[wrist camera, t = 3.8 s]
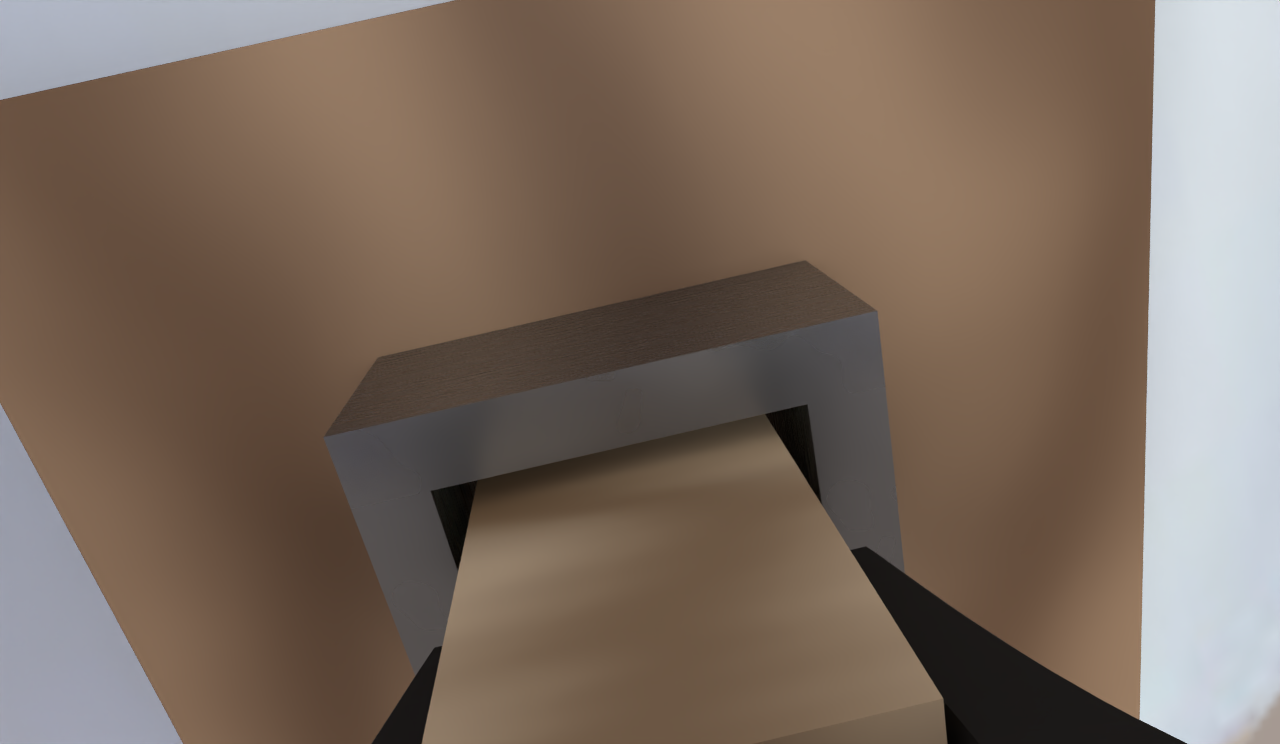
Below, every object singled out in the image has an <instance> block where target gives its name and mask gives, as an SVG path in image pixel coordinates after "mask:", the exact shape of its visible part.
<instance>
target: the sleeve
mask: <svg viewBox="0 0 1280 744" xmlns="http://www.w3.org/2000/svg"><path fill="white" fill-rule="evenodd" d="M762 414H766V417H767V418H768V420H769V421H770V423H771V425H772V426H773V428H774V429H775V431H776V433H777V434H778V436H779V437H780V439H781V441H782V442H783V444H784V445H785V447H786V449H787V450H788V452H789V453H790V455H791V457H792V458H793V460H794V461H795V463H796V465H797V466H798V468H799V469H800V471H801V473H802V474H803V476H804V477H805V479H806V480H807V482H808V484H809V485H810V487H811V488H812V490H813V492H814V493H815V495H816V496H817V498H818V500H819V501H820V503H821V504H822V506H823V508H824V509H825V511H826V512H827V514H828V516H829V517H830V519H831V520H832V522H833V524H834V525H835V527H836V528H837V530H838V532H839V533H840V535H841V536H842V538H843V539H844V541H845V543H846V544H847V546H848V547H849V549H850V550H853V549H857V548H861V547H865V546H866V547H868V548H870V549H871V550H873V551H874V552H876V553H877V554H878V555H880V556H881V557H883V558H884V559H886V560H887V561H888V562H890V563H891V564H892V565H894V566H895V567H897V568H898V569H899V570H901V571H902V572H904V573H905V569H904V560H903V550H902V541H901V531H900V521H899V512H898V502H897V493H896V483H895V474H894V464H893V454H892V445H891V435H890V426H889V416H888V407H887V397H886V388H885V378H884V368H883V359H882V349H881V340H880V330H879V321H878V311H877V310H876V309H874V308H873V307H871V306H870V305H869V304H867V303H866V302H864V301H863V300H861V299H860V298H859V297H857V296H856V295H854V294H853V293H851V292H850V291H849V290H847V289H846V288H844V287H843V286H841V285H840V284H839V283H837V282H836V281H834V280H833V279H832V278H830V277H829V276H827V275H826V274H824V273H823V272H822V271H820V270H819V269H817V268H816V267H814V266H813V265H812V264H810V263H809V262H807V261H806V260H804V261H799V262H795V263H791V264H786V265H782V266H777V267H773V268H769V269H764V270H760V271H755V272H751V273H747V274H742V275H738V276H733V277H729V278H725V279H720V280H716V281H711V282H707V283H702V284H698V285H694V286H689V287H685V288H680V289H676V290H672V291H667V292H663V293H658V294H654V295H650V296H645V297H641V298H636V299H632V300H628V301H623V302H619V303H614V304H610V305H606V306H601V307H597V308H592V309H588V310H583V311H579V312H575V313H570V314H566V315H561V316H557V317H553V318H548V319H544V320H539V321H535V322H531V323H526V324H522V325H517V326H513V327H509V328H504V329H500V330H495V331H491V332H487V333H482V334H478V335H473V336H469V337H464V338H460V339H456V340H451V341H447V342H442V343H438V344H434V345H429V346H425V347H420V348H416V349H412V350H407V351H403V352H398V353H394V354H390V355H385V356H381V357H378V358H377V359H376V361H375V362H374V364H373V365H372V367H371V368H370V369H369V371H368V372H367V374H366V375H365V377H364V378H363V380H362V381H361V383H360V384H359V386H358V387H357V389H356V390H355V391H354V393H353V394H352V396H351V397H350V399H349V400H348V402H347V403H346V405H345V406H344V408H343V409H342V411H341V412H340V413H339V415H338V416H337V418H336V419H335V421H334V422H333V424H332V425H331V427H330V428H329V430H328V431H327V433H326V434H325V436H324V437H323V438H324V441H325V443H326V446H327V448H328V451H329V454H330V456H331V459H332V461H333V464H334V467H335V469H336V472H337V474H338V477H339V479H340V482H341V485H342V487H343V490H344V492H345V495H346V498H347V500H348V503H349V505H350V508H351V511H352V513H353V516H354V518H355V521H356V524H357V526H358V529H359V531H360V534H361V536H362V539H363V542H364V544H365V547H366V549H367V552H368V555H369V557H370V560H371V562H372V565H373V568H374V570H375V573H376V575H377V578H378V581H379V583H380V586H381V588H382V591H383V593H384V596H385V599H386V601H387V604H388V606H389V609H390V612H391V614H392V617H393V619H394V622H395V625H396V627H397V630H398V632H399V635H400V638H401V640H402V643H403V645H404V648H405V650H406V653H407V656H408V658H409V661H410V663H411V666H412V669H413V671H414V674H415V676H416V674H417V673H418V671H419V670H420V668H421V667H422V665H423V664H424V662H425V661H426V659H427V658H428V656H429V655H430V653H431V652H432V650H433V649H434V648H435V647H439V646H443V641H444V636H445V632H446V627H447V622H448V617H449V613H450V608H451V603H452V599H453V594H454V589H455V585H456V580H457V575H458V570H459V566H460V561H461V556H462V552H463V547H464V542H465V537H466V533H467V528H468V523H469V519H470V514H471V509H472V504H473V500H474V495H475V490H476V486H477V481H478V480H480V479H484V478H489V477H493V476H498V475H502V474H506V473H511V472H515V471H519V470H524V469H528V468H532V467H537V466H541V465H545V464H550V463H554V462H558V461H563V460H567V459H571V458H576V457H580V456H584V455H589V454H593V453H597V452H602V451H606V450H610V449H615V448H619V447H623V446H628V445H632V444H636V443H641V442H645V441H650V440H654V439H658V438H663V437H667V436H671V435H676V434H680V433H684V432H689V431H693V430H697V429H702V428H706V427H710V426H715V425H719V424H723V423H728V422H732V421H736V420H741V419H745V418H749V417H754V416H758V415H762Z"/></svg>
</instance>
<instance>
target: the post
mask: <svg viewBox="0 0 1280 744" xmlns="http://www.w3.org/2000/svg"><path fill="white" fill-rule="evenodd" d="M422 744H947V735H946V724H945V713H944V701H943V697H942V696H941V694H940V693H939V691H938V689H937V688H936V686H935V685H934V683H933V681H932V680H931V678H930V677H929V675H928V673H927V672H926V670H925V669H924V667H923V665H922V664H921V662H920V661H919V659H918V657H917V656H916V654H915V653H914V651H913V650H912V648H911V646H910V645H909V643H908V642H907V640H906V638H905V637H904V635H903V634H902V632H901V630H900V629H899V627H898V626H897V624H896V622H895V621H894V619H893V618H892V616H891V614H890V613H889V611H888V610H887V608H886V606H885V605H884V603H883V602H882V600H881V598H880V597H879V595H878V594H877V592H876V591H875V589H874V587H873V586H872V584H871V583H870V581H869V579H868V578H867V576H866V575H865V573H864V571H863V570H862V568H861V567H860V565H859V563H858V562H857V560H856V559H855V557H854V555H853V554H852V552H851V551H850V549H849V547H848V546H847V544H846V543H845V541H844V539H843V538H842V536H841V535H840V533H839V532H838V530H837V528H836V527H835V525H834V524H833V522H832V520H831V519H830V517H829V516H828V514H827V512H826V511H825V509H824V508H823V506H822V504H821V503H820V501H819V500H818V498H817V496H816V495H815V493H814V492H813V490H812V488H811V487H810V485H809V484H808V482H807V480H806V479H805V477H804V476H803V474H802V473H801V471H800V469H799V468H798V466H797V465H796V463H795V461H794V460H793V458H792V457H791V455H790V453H789V452H788V450H787V449H786V447H785V445H784V444H783V442H782V441H781V439H780V437H779V436H778V434H777V433H776V431H775V429H774V428H773V426H772V425H771V423H770V421H769V420H768V418H767V417H766V415H765V414H762V415H758V416H754V417H749V418H745V419H741V420H736V421H732V422H728V423H723V424H719V425H715V426H710V427H706V428H702V429H697V430H693V431H689V432H684V433H680V434H676V435H671V436H667V437H663V438H658V439H654V440H650V441H645V442H641V443H636V444H632V445H628V446H623V447H619V448H615V449H610V450H606V451H602V452H597V453H593V454H589V455H584V456H580V457H576V458H571V459H567V460H563V461H558V462H554V463H550V464H545V465H541V466H537V467H532V468H528V469H524V470H519V471H515V472H511V473H506V474H502V475H498V476H493V477H489V478H484V479H480V480H478V481H477V486H476V490H475V495H474V500H473V504H472V509H471V514H470V519H469V523H468V528H467V533H466V537H465V542H464V547H463V552H462V556H461V561H460V566H459V570H458V575H457V580H456V585H455V589H454V594H453V599H452V603H451V608H450V613H449V617H448V622H447V627H446V632H445V636H444V641H443V646H442V650H441V655H440V660H439V665H438V669H437V674H436V679H435V683H434V688H433V693H432V698H431V702H430V707H429V712H428V716H427V721H426V726H425V730H424V735H423V740H422Z"/></svg>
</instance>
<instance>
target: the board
mask: <svg viewBox="0 0 1280 744" xmlns="http://www.w3.org/2000/svg"><path fill="white" fill-rule="evenodd" d="M1154 28H1155V0H455V1H450V2H446V3H441V4H437V5H432V6H428V7H423V8H418V9H414V10H409V11H405V12H400V13H396V14H391V15H386V16H382V17H377V18H373V19H368V20H364V21H359V22H355V23H350V24H345V25H341V26H336V27H332V28H327V29H323V30H318V31H313V32H309V33H304V34H300V35H295V36H291V37H286V38H282V39H277V40H272V41H268V42H263V43H259V44H254V45H250V46H245V47H240V48H236V49H231V50H227V51H222V52H218V53H213V54H209V55H204V56H199V57H195V58H190V59H186V60H181V61H177V62H172V63H167V64H163V65H158V66H154V67H149V68H145V69H140V70H136V71H131V72H126V73H122V74H117V75H113V76H108V77H104V78H99V79H94V80H90V81H85V82H81V83H76V84H72V85H67V86H63V87H58V88H53V89H49V90H44V91H40V92H35V93H31V94H26V95H21V96H17V97H12V98H8V99H3V100H0V403H1V405H2V407H3V409H4V411H5V412H6V414H7V416H8V418H9V420H10V422H11V424H12V426H13V427H14V429H15V431H16V433H17V435H18V437H19V439H20V440H21V442H22V444H23V446H24V448H25V450H26V452H27V453H28V455H29V457H30V459H31V461H32V463H33V465H34V466H35V468H36V470H37V472H38V474H39V476H40V478H41V480H42V481H43V483H44V485H45V487H46V489H47V491H48V493H49V494H50V496H51V498H52V500H53V502H54V504H55V506H56V507H57V509H58V511H59V513H60V515H61V517H62V519H63V520H64V522H65V524H66V526H67V528H68V530H69V532H70V534H71V535H72V537H73V539H74V541H75V543H76V545H77V547H78V548H79V550H80V552H81V554H82V556H83V558H84V560H85V561H86V563H87V565H88V567H89V569H90V571H91V573H92V575H93V576H94V578H95V580H96V582H97V584H98V586H99V588H100V589H101V591H102V593H103V595H104V597H105V599H106V601H107V602H108V604H109V606H110V608H111V610H112V612H113V614H114V615H115V617H116V619H117V621H118V623H119V625H120V627H121V629H122V630H123V632H124V634H125V636H126V638H127V640H128V642H129V643H130V645H131V647H132V649H133V651H134V653H135V655H136V656H137V658H138V660H139V662H140V664H141V666H142V668H143V669H144V671H145V673H146V675H147V677H148V679H149V681H150V683H151V684H152V686H153V688H154V690H155V692H156V694H157V696H158V697H159V699H160V701H161V703H162V705H163V707H164V709H165V710H166V712H167V714H168V716H169V718H170V720H171V722H172V724H173V725H174V727H175V729H176V731H177V733H178V735H179V737H180V738H181V740H182V742H183V744H371V743H372V742H373V740H374V739H375V737H376V736H377V734H378V733H379V731H380V730H381V728H382V727H383V725H384V723H385V722H386V720H387V719H388V717H389V716H390V714H391V713H392V711H393V710H394V708H395V707H396V705H397V703H398V702H399V700H400V699H401V697H402V696H403V694H404V693H405V691H406V689H407V688H408V686H409V685H410V683H411V682H412V680H413V679H414V677H415V674H414V671H413V669H412V666H411V663H410V661H409V658H408V656H407V653H406V650H405V648H404V645H403V643H402V640H401V638H400V635H399V632H398V630H397V627H396V625H395V622H394V619H393V617H392V614H391V612H390V609H389V606H388V604H387V601H386V599H385V596H384V593H383V591H382V588H381V586H380V583H379V581H378V578H377V575H376V573H375V570H374V568H373V565H372V562H371V560H370V557H369V555H368V552H367V549H366V547H365V544H364V542H363V539H362V536H361V534H360V531H359V529H358V526H357V524H356V521H355V518H354V516H353V513H352V511H351V508H350V505H349V503H348V500H347V498H346V495H345V492H344V490H343V487H342V485H341V482H340V479H339V477H338V474H337V472H336V469H335V467H334V464H333V461H332V459H331V456H330V454H329V451H328V448H327V446H326V443H325V441H324V438H323V437H324V436H325V434H326V433H327V431H328V430H329V428H330V427H331V425H332V424H333V422H334V421H335V419H336V418H337V416H338V415H339V413H340V412H341V411H342V409H343V408H344V406H345V405H346V403H347V402H348V400H349V399H350V397H351V396H352V394H353V393H354V391H355V390H356V389H357V387H358V386H359V384H360V383H361V381H362V380H363V378H364V377H365V375H366V374H367V372H368V371H369V369H370V368H371V367H372V365H373V364H374V362H375V361H376V359H377V358H378V357H381V356H385V355H390V354H394V353H398V352H403V351H407V350H412V349H416V348H420V347H425V346H429V345H434V344H438V343H442V342H447V341H451V340H456V339H460V338H464V337H469V336H473V335H478V334H482V333H487V332H491V331H495V330H500V329H504V328H509V327H513V326H517V325H522V324H526V323H531V322H535V321H539V320H544V319H548V318H553V317H557V316H561V315H566V314H570V313H575V312H579V311H583V310H588V309H592V308H597V307H601V306H606V305H610V304H614V303H619V302H623V301H628V300H632V299H636V298H641V297H645V296H650V295H654V294H658V293H663V292H667V291H672V290H676V289H680V288H685V287H689V286H694V285H698V284H702V283H707V282H711V281H716V280H720V279H725V278H729V277H733V276H738V275H742V274H747V273H751V272H755V271H760V270H764V269H769V268H773V267H777V266H782V265H786V264H791V263H795V262H799V261H804V260H806V261H807V262H809V263H810V264H812V265H813V266H814V267H816V268H817V269H819V270H820V271H822V272H823V273H824V274H826V275H827V276H829V277H830V278H832V279H833V280H834V281H836V282H837V283H839V284H840V285H841V286H843V287H844V288H846V289H847V290H849V291H850V292H851V293H853V294H854V295H856V296H857V297H859V298H860V299H861V300H863V301H864V302H866V303H867V304H869V305H870V306H871V307H873V308H874V309H876V310H877V311H878V321H879V330H880V340H881V349H882V359H883V368H884V378H885V388H886V397H887V407H888V416H889V426H890V435H891V445H892V454H893V464H894V474H895V483H896V493H897V502H898V512H899V521H900V531H901V541H902V550H903V560H904V569H905V574H906V575H908V576H909V577H911V578H912V579H913V580H915V581H916V582H917V583H919V584H920V585H922V586H923V587H924V588H926V589H927V590H929V591H930V592H932V593H933V594H934V595H936V596H937V597H939V598H940V599H942V600H943V601H944V602H946V603H947V604H949V605H950V606H952V607H953V608H955V609H956V610H957V611H959V612H960V613H962V614H963V615H965V616H966V617H968V618H969V619H971V620H972V621H974V622H975V623H977V624H978V625H980V626H981V627H983V628H985V629H986V630H988V631H989V632H991V633H992V634H994V635H995V636H997V637H998V638H1000V639H1001V640H1003V641H1005V642H1006V643H1008V644H1009V645H1011V646H1012V647H1014V648H1015V649H1017V650H1018V651H1020V652H1021V653H1023V654H1025V655H1026V656H1028V657H1030V658H1031V659H1033V660H1034V661H1036V662H1038V663H1039V664H1041V665H1043V666H1044V667H1046V668H1047V669H1049V670H1051V671H1052V672H1054V673H1056V674H1058V675H1059V676H1061V677H1063V678H1065V679H1066V680H1068V681H1070V682H1072V683H1073V684H1075V685H1077V686H1078V687H1080V688H1082V689H1084V690H1085V691H1087V692H1089V693H1091V694H1092V695H1094V696H1096V697H1098V698H1099V699H1101V700H1103V701H1105V702H1107V703H1109V704H1110V705H1112V706H1114V707H1116V708H1118V709H1120V710H1122V711H1124V712H1125V713H1127V714H1129V715H1131V716H1133V717H1135V718H1137V719H1139V715H1140V670H1141V624H1142V578H1143V532H1144V486H1145V440H1146V394H1147V349H1148V303H1149V257H1150V211H1151V165H1152V119H1153V73H1154ZM765 415H766V414H765Z"/></svg>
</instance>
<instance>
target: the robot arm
mask: <svg viewBox="0 0 1280 744" xmlns="http://www.w3.org/2000/svg"><path fill="white" fill-rule="evenodd" d="M850 551H851V552H852V554H853V555H854V557H855V559H856V560H857V562H858V563H859V565H860V567H861V568H862V570H863V571H864V573H865V575H866V576H867V578H868V579H869V581H870V583H871V584H872V586H873V587H874V589H875V591H876V592H877V594H878V595H879V597H880V598H881V600H882V602H883V603H884V605H885V606H886V608H887V610H888V611H889V613H890V614H891V616H892V618H893V619H894V621H895V622H896V624H897V626H898V627H899V629H900V630H901V632H902V634H903V635H904V637H905V638H906V640H907V642H908V643H909V645H910V646H911V648H912V650H913V651H914V653H915V654H916V656H917V657H918V659H919V661H920V662H921V664H922V665H923V667H924V669H925V670H926V672H927V673H928V675H929V677H930V678H931V680H932V681H933V683H934V685H935V686H936V688H937V689H938V691H939V693H940V694H941V696H942V697H943V701H944V713H945V724H946V735H947V744H1187V743H1185V742H1183V741H1181V740H1179V739H1177V738H1175V737H1173V736H1171V735H1169V734H1167V733H1165V732H1163V731H1161V730H1159V729H1157V728H1155V727H1153V726H1151V725H1149V724H1147V723H1145V722H1143V721H1141V720H1139V719H1137V718H1135V717H1133V716H1131V715H1129V714H1127V713H1125V712H1124V711H1122V710H1120V709H1118V708H1116V707H1114V706H1112V705H1110V704H1109V703H1107V702H1105V701H1103V700H1101V699H1099V698H1098V697H1096V696H1094V695H1092V694H1091V693H1089V692H1087V691H1085V690H1084V689H1082V688H1080V687H1078V686H1077V685H1075V684H1073V683H1072V682H1070V681H1068V680H1066V679H1065V678H1063V677H1061V676H1059V675H1058V674H1056V673H1054V672H1052V671H1051V670H1049V669H1047V668H1046V667H1044V666H1043V665H1041V664H1039V663H1038V662H1036V661H1034V660H1033V659H1031V658H1030V657H1028V656H1026V655H1025V654H1023V653H1021V652H1020V651H1018V650H1017V649H1015V648H1014V647H1012V646H1011V645H1009V644H1008V643H1006V642H1005V641H1003V640H1001V639H1000V638H998V637H997V636H995V635H994V634H992V633H991V632H989V631H988V630H986V629H985V628H983V627H981V626H980V625H978V624H977V623H975V622H974V621H972V620H971V619H969V618H968V617H966V616H965V615H963V614H962V613H960V612H959V611H957V610H956V609H955V608H953V607H952V606H950V605H949V604H947V603H946V602H944V601H943V600H942V599H940V598H939V597H937V596H936V595H934V594H933V593H932V592H930V591H929V590H927V589H926V588H924V587H923V586H922V585H920V584H919V583H917V582H916V581H915V580H913V579H912V578H911V577H909V576H908V575H906V574H905V573H904V572H902V571H901V570H899V569H898V568H897V567H895V566H894V565H892V564H891V563H890V562H888V561H887V560H886V559H884V558H883V557H881V556H880V555H878V554H877V553H876V552H874V551H873V550H871V549H870V548H868V547H866V546H865V547H861V548H857V549H853V550H850ZM441 650H442V646H439V647H435V648H434V649H433V650H432V652H431V653H430V655H429V656H428V658H427V659H426V661H425V662H424V664H423V665H422V667H421V668H420V670H419V671H418V673H417V674H416V676H415V677H414V679H413V680H412V682H411V683H410V685H409V686H408V688H407V689H406V691H405V693H404V694H403V696H402V697H401V699H400V700H399V702H398V703H397V705H396V707H395V708H394V710H393V711H392V713H391V714H390V716H389V717H388V719H387V720H386V722H385V723H384V725H383V727H382V728H381V730H380V731H379V733H378V734H377V736H376V737H375V739H374V740H373V742H372V743H371V744H422V740H423V735H424V730H425V726H426V721H427V716H428V712H429V707H430V702H431V698H432V693H433V688H434V683H435V679H436V674H437V669H438V665H439V660H440V655H441Z"/></svg>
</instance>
